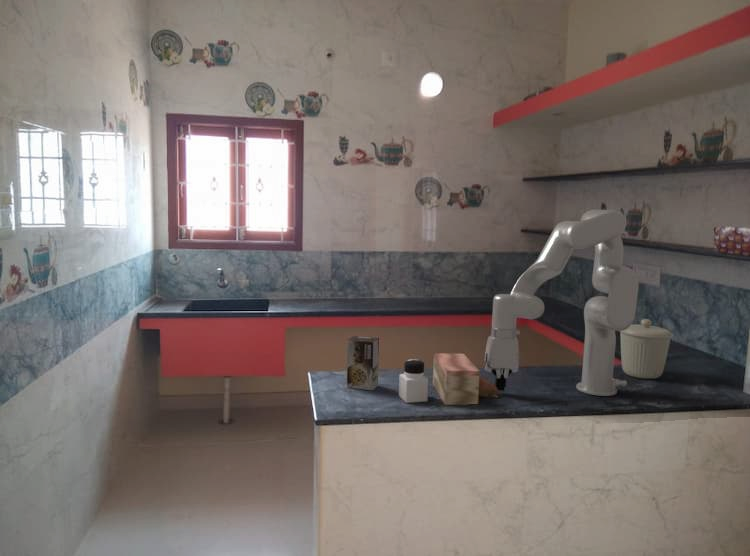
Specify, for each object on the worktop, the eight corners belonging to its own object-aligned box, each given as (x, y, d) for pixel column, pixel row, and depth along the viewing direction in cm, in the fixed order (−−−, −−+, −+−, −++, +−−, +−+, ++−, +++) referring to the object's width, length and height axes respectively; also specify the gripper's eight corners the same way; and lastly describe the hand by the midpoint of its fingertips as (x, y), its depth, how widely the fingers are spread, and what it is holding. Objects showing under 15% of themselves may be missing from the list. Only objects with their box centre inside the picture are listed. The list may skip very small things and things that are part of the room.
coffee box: (378, 385, 189) (380, 337, 187) (372, 391, 183) (374, 341, 181) (352, 382, 192) (353, 335, 190) (345, 387, 186) (347, 339, 184)
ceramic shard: (438, 372, 189) (477, 375, 195) (436, 391, 189) (475, 394, 194) (461, 378, 176) (502, 381, 181) (459, 399, 175) (500, 402, 181)
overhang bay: (461, 383, 194) (463, 353, 192) (477, 404, 173) (479, 371, 172) (432, 383, 193) (434, 353, 192) (445, 404, 172) (446, 370, 171)
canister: (635, 383, 201) (640, 324, 198) (605, 369, 218) (609, 314, 216) (680, 381, 205) (686, 323, 202) (646, 368, 222) (651, 314, 220)
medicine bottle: (428, 401, 174) (429, 363, 173) (405, 403, 172) (407, 364, 171) (419, 394, 181) (421, 357, 180) (398, 395, 179) (399, 358, 178)
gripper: (522, 331, 186) (519, 385, 188) (477, 330, 185) (474, 385, 187) (530, 336, 179) (526, 393, 181) (483, 335, 178) (480, 392, 180)
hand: (500, 389), depth 184 cm, fingers closed
